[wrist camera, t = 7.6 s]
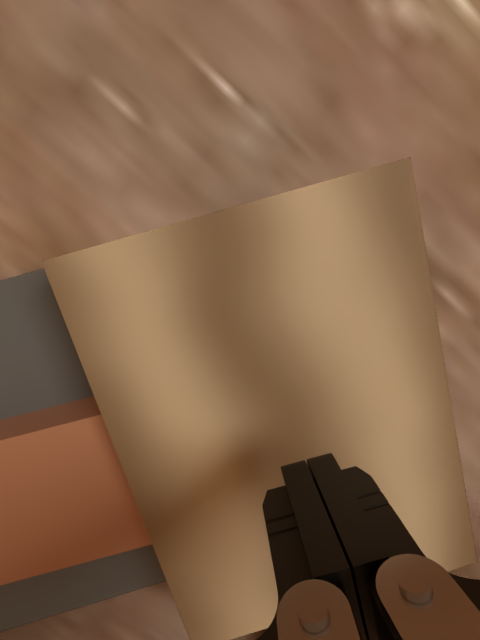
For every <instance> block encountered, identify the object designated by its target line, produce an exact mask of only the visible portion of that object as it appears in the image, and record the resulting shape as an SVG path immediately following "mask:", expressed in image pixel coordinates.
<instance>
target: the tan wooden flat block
mask: <svg viewBox="0 0 480 640" xmlns="http://www.w3.org/2000/svg"><path fill="white" fill-rule="evenodd" d="M41 262H42V264H43V267H44V269H45V272H46V274H47V277H48V280H49V282H50V285H51V287H52V290H53V292H54V295H55V297H56V300H57V303H58V305H59V308H60V310H61V313H62V315H63V318H64V320H65V323H66V326H67V328H68V331H69V333H70V336H71V338H72V341H73V343H74V346H75V348H76V351H77V354H78V356H79V359H80V361H81V364H82V366H83V369H84V371H85V374H86V377H87V379H88V382H89V384H90V387H91V389H92V392H93V394H94V397H95V400H96V402H97V405H98V407H99V410H100V412H101V415H102V417H103V420H104V422H105V425H106V428H107V430H108V433H109V435H110V438H111V440H112V443H113V445H114V448H115V451H116V453H117V456H118V458H119V461H120V463H121V466H122V468H123V471H124V474H125V476H126V479H127V481H128V484H129V486H130V489H131V491H132V494H133V496H134V499H135V502H136V504H137V507H138V509H139V512H140V514H141V517H142V519H143V522H144V525H145V527H146V530H147V532H148V535H149V537H150V540H151V542H152V545H153V548H154V550H155V553H156V555H157V558H158V560H159V563H160V565H161V568H162V570H163V573H164V576H165V578H166V581H167V583H168V586H169V588H170V591H171V593H172V596H173V599H174V601H175V604H176V606H177V609H178V611H179V614H180V616H181V619H182V622H183V624H184V627H185V629H186V632H187V634H188V637H189V639H190V640H231V639H234V638H238V637H241V636H244V635H247V634H250V633H254V632H257V631H260V630H263V629H266V628H268V627H269V626H270V624H271V623H272V621H273V619H274V616H275V614H276V611H277V606H278V591H277V585H276V580H275V574H274V568H273V563H272V557H271V552H270V546H269V541H268V535H267V530H266V523H265V518H264V513H263V507H262V504H263V501H264V498H265V495H266V492H267V490H270V489H274V488H277V487H281V486H285V483H284V479H283V475H282V472H281V467H280V466H284V465H288V464H291V463H295V462H299V461H302V460H305V461H306V464H307V459H309V458H313V457H317V456H320V455H324V454H328V453H332V454H333V456H334V458H335V459H336V461H337V463H338V465H339V467H340V468H341V470H343V469H347V468H350V467H354V466H357V467H358V468H360V469H361V470H363V471H364V472H366V473H368V474H369V475H371V476H372V478H373V479H374V481H375V482H376V484H377V485H378V487H379V488H380V490H381V493H383V494H384V496H385V497H386V499H387V500H388V502H389V505H391V506H392V508H393V509H394V511H395V512H396V514H397V515H398V517H399V518H400V520H401V521H402V523H403V524H404V526H405V527H406V529H407V530H408V532H409V533H410V535H411V536H412V538H413V539H414V541H415V542H416V543H417V545H418V546H419V548H420V549H421V551H422V552H423V554H424V555H425V556H426V557H427V558H429V559H431V560H433V561H435V562H436V563H438V564H439V565H441V566H442V567H443V568H444V569H445V570H446V571H447V572H448V571H451V570H454V569H457V568H461V567H464V566H467V565H470V564H473V563H476V562H477V557H476V551H475V545H474V539H473V533H472V527H471V521H470V515H469V509H468V503H467V497H466V491H465V484H464V478H463V472H462V466H461V460H460V454H459V448H458V442H457V436H456V430H455V424H454V417H453V411H452V405H451V399H450V393H449V387H448V381H447V375H446V369H445V363H444V357H443V351H442V344H441V338H440V332H439V326H438V320H437V314H436V308H435V302H434V296H433V290H432V284H431V278H430V271H429V265H428V259H427V253H426V247H425V241H424V235H423V229H422V223H421V217H420V211H419V205H418V198H417V192H416V186H415V180H414V174H413V168H412V162H411V157H409V158H406V159H402V160H399V161H395V162H391V163H388V164H384V165H381V166H377V167H374V168H370V169H367V170H363V171H360V172H356V173H352V174H349V175H345V176H342V177H338V178H335V179H331V180H328V181H324V182H321V183H317V184H314V185H310V186H306V187H303V188H299V189H296V190H292V191H289V192H285V193H282V194H278V195H275V196H271V197H268V198H264V199H260V200H257V201H253V202H250V203H246V204H243V205H239V206H236V207H232V208H229V209H225V210H221V211H218V212H214V213H211V214H207V215H204V216H200V217H197V218H193V219H190V220H186V221H183V222H179V223H175V224H172V225H168V226H165V227H161V228H158V229H154V230H151V231H147V232H144V233H140V234H137V235H133V236H129V237H126V238H122V239H119V240H115V241H112V242H108V243H105V244H101V245H98V246H94V247H90V248H87V249H83V250H80V251H76V252H73V253H69V254H66V255H62V256H59V257H55V258H52V259H48V260H44V261H41Z"/></svg>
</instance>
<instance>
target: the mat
mask: <svg viewBox="0 0 480 640" xmlns="http://www.w3.org/2000/svg"><path fill="white" fill-rule="evenodd" d="M92 396H94V394H93V392H92V389H91V387H90V384H89V382H88V379H87V377H86V374H85V371H84V369H83V366H82V364H81V361H80V359H79V356H78V354H77V351H76V348H75V346H74V343H73V341H72V338H71V336H70V333H69V331H68V328H67V326H66V323H65V320H64V318H63V315H62V313H61V310H60V308H59V305H58V303H57V300H56V297H55V295H54V292H53V290H52V287H51V285H50V282H49V280H48V277H47V274H46V272H45V269H40V270H37V271H33V272H30V273H26V274H23V275H19V276H16V277H12V278H8V279H5V280H1V281H0V420H2V419H6V418H10V417H14V416H18V415H22V414H26V413H29V412H33V411H37V410H41V409H45V408H49V407H53V406H57V405H61V404H64V403H68V402H72V401H76V400H80V399H84V398H88V397H92ZM164 581H166V578H165V576H164V573H163V570H162V568H161V565H160V563H159V560H158V558H157V555H156V553H155V550H154V548H153V545H152V544H151V545H148V546H144V547H140V548H137V549H133V550H129V551H126V552H122V553H118V554H115V555H111V556H107V557H103V558H100V559H96V560H92V561H89V562H85V563H81V564H78V565H74V566H70V567H67V568H63V569H59V570H56V571H52V572H48V573H45V574H41V575H37V576H34V577H30V578H26V579H23V580H19V581H15V582H11V583H8V584H4V585H0V632H2V631H5V630H8V629H11V628H15V627H18V626H21V625H24V624H28V623H31V622H34V621H37V620H41V619H44V618H47V617H50V616H54V615H57V614H60V613H63V612H67V611H70V610H73V609H76V608H79V607H83V606H86V605H89V604H92V603H96V602H99V601H102V600H105V599H109V598H112V597H115V596H118V595H122V594H125V593H128V592H131V591H135V590H138V589H141V588H144V587H148V586H151V585H154V584H157V583H161V582H164Z"/></svg>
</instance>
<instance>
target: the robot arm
mask: <svg viewBox="0 0 480 640" xmlns="http://www.w3.org/2000/svg"><path fill="white" fill-rule="evenodd" d="M280 467H281V472H282V475H283V479H284V483H285V486H281V487H277V488H274V489H270V490H267V492H266V495H265V498H264V501H263V504H262V507H263V513H264V518H265V523H266V530H267V535H268V541H269V546H270V552H271V557H272V563H273V568H274V574H275V580H276V585H277V591H278V606H277V611H276V614H275V616H274V619H273V621H272V623H271V624H270V626H269V627H268V629H267V630H266V631H265V632H264V633H263V635H262V636H261V637H259V638H258V639H257V640H366V639H367V640H480V580H475V579H467V578H463V577H459V576H456V575H453V574H450V573H448V572H447V571H446V570H445V569H444V568H443V567H442V566H441V565H439V564H438V563H436V562H435V561H433V560H431V559H429V558H427V557H426V556H425V555H424V554H423V552H422V551H421V549H420V548H419V546H418V545H417V543H416V542H415V541H414V539H413V538H412V536H411V535H410V533H409V532H408V530H407V529H406V527H405V526H404V524H403V523H402V521H401V520H400V518H399V517H398V515H397V514H396V512H395V511H394V509H393V508H392V506H391V505H389V502H388V500H387V499H386V497H385V496H384V494H383V493H381V490H380V488H379V487H378V485H377V484H376V482H375V481H374V479H373V478H372V476H371V475H369V474H368V473H366V472H364V471H363V470H361V469H360V468H358V467H357V466H354V467H350V468H347V469H343V470H341V468H340V467H339V465H338V463H337V461H336V459H335V458H334V456H333V454H332V453H328V454H324V455H320V456H317V457H313V458H309V459H307V464H306V461H305V460H302V461H299V462H295V463H291V464H288V465H284V466H280Z"/></svg>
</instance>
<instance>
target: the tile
mask: <svg viewBox="0 0 480 640" xmlns="http://www.w3.org/2000/svg"><path fill="white" fill-rule="evenodd" d="M151 544H152V542H151V540H150V537H149V535H148V532H147V530H146V527H145V525H144V522H143V519H142V517H141V514H140V512H139V509H138V507H137V504H136V502H135V499H134V496H133V494H132V491H131V489H130V486H129V484H128V481H127V479H126V476H125V474H124V471H123V468H122V466H121V463H120V461H119V458H118V456H117V453H116V451H115V448H114V445H113V443H112V440H111V438H110V435H109V433H108V430H107V428H106V425H105V422H104V420H103V417H102V415H101V412H100V410H99V407H98V405H97V402H96V400H95V397H94V396H92V397H88V398H84V399H80V400H76V401H72V402H68V403H64V404H61V405H57V406H53V407H49V408H45V409H41V410H37V411H33V412H29V413H26V414H22V415H18V416H14V417H10V418H6V419H2V420H0V585H4V584H8V583H11V582H15V581H19V580H23V579H26V578H30V577H34V576H37V575H41V574H45V573H48V572H52V571H56V570H59V569H63V568H67V567H70V566H74V565H78V564H81V563H85V562H89V561H92V560H96V559H100V558H103V557H107V556H111V555H115V554H118V553H122V552H126V551H129V550H133V549H137V548H140V547H144V546H148V545H151Z"/></svg>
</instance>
